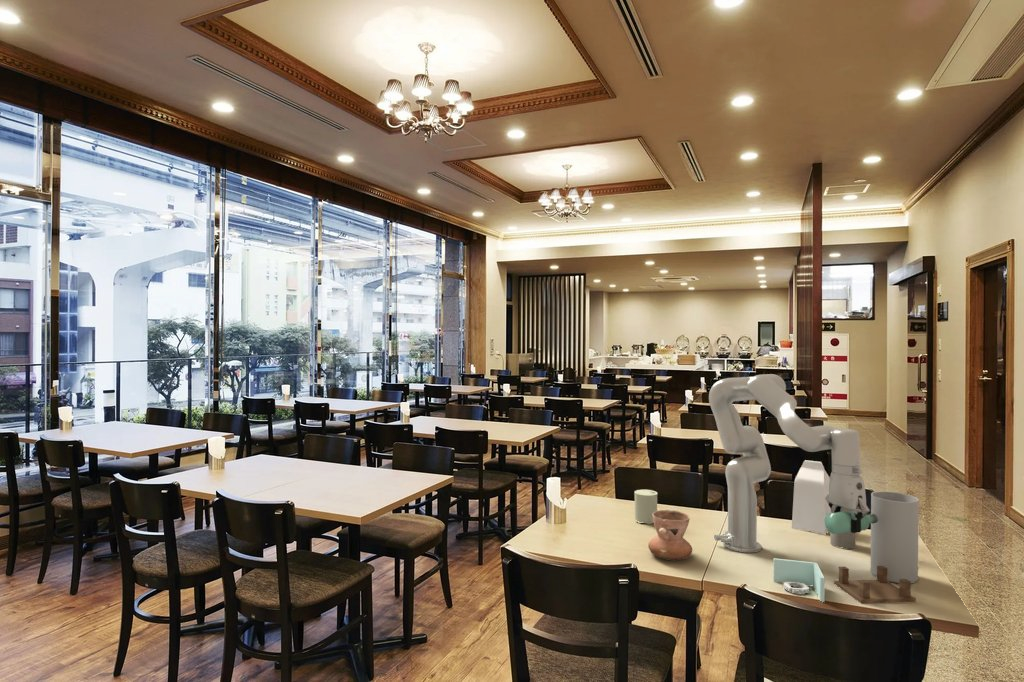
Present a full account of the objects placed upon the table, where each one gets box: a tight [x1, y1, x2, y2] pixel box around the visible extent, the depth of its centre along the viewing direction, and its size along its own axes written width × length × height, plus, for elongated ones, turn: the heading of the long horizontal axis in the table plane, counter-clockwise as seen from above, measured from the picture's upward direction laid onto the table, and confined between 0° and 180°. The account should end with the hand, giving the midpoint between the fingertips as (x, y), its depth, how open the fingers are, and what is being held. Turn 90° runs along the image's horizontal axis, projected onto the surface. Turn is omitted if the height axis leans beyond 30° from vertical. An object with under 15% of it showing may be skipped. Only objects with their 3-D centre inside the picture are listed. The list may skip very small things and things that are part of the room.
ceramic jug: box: [647, 509, 693, 561], centre depth 206 cm, size 18×14×14 cm
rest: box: [833, 566, 917, 604], centre depth 177 cm, size 16×13×6 cm
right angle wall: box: [772, 557, 826, 603], centre depth 178 cm, size 12×12×8 cm
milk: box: [791, 459, 831, 535], centre depth 235 cm, size 12×12×26 cm
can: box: [633, 489, 658, 523], centre depth 244 cm, size 9×9×12 cm
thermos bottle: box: [829, 506, 857, 549], centre depth 216 cm, size 8×8×28 cm
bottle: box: [824, 511, 878, 534], centre depth 185 cm, size 16×6×6 cm, turn 107°
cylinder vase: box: [870, 491, 920, 584], centre depth 188 cm, size 12×12×25 cm
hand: (846, 528), depth 184 cm, fingers closed on bottle, 6 cm apart
